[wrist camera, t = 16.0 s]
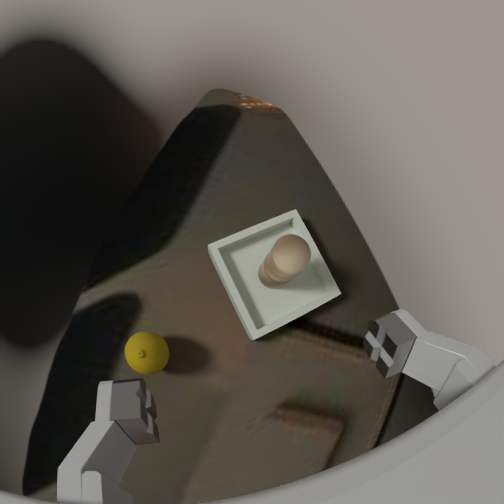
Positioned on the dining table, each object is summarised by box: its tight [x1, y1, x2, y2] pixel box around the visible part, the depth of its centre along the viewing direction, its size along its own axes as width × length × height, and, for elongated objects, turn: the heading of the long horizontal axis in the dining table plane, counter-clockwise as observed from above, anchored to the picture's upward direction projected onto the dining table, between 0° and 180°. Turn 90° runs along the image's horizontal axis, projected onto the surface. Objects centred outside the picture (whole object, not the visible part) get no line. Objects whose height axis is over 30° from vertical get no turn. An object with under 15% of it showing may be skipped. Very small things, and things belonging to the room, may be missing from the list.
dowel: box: [258, 234, 311, 289], centre depth 38 cm, size 4×4×10 cm
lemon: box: [125, 331, 169, 375], centre depth 34 cm, size 6×6×8 cm
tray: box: [208, 209, 341, 340], centre depth 42 cm, size 14×14×3 cm
